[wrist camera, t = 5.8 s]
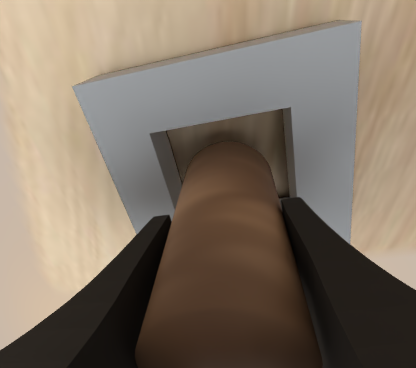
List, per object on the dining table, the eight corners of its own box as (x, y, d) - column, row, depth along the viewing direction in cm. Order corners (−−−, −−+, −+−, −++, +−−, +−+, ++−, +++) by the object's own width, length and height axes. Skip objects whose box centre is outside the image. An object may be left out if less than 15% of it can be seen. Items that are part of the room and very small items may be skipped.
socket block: (337, 20, 12) (361, 20, 10) (334, 225, 17) (349, 255, 15) (97, 75, 13) (71, 86, 11) (162, 245, 19) (154, 274, 17)
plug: (269, 135, 12) (326, 302, 5) (274, 212, 14) (320, 410, 7) (176, 148, 12) (108, 314, 5) (194, 220, 14) (160, 409, 7)
